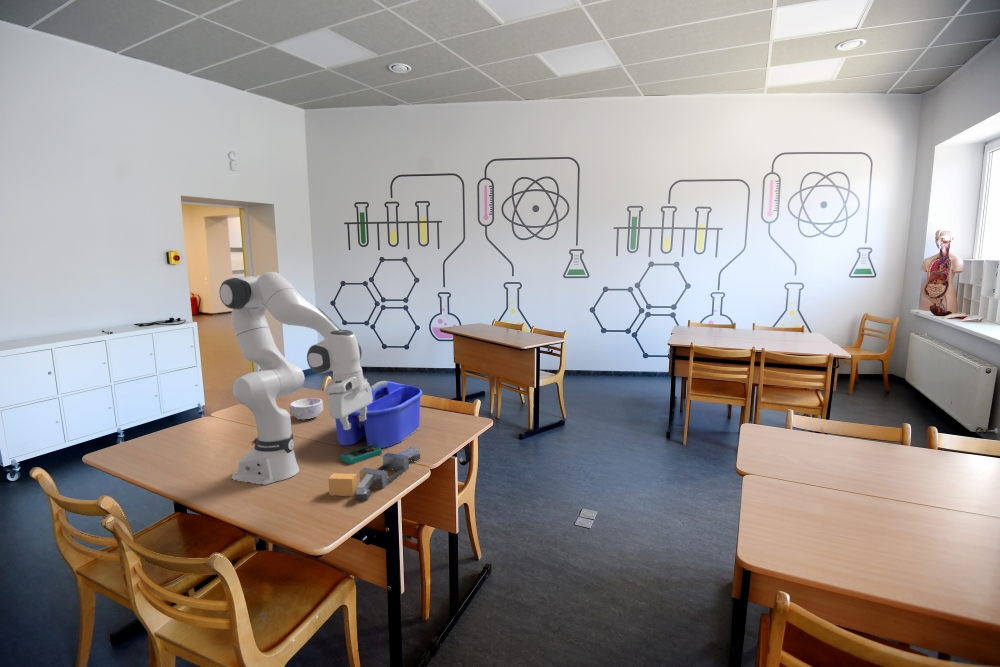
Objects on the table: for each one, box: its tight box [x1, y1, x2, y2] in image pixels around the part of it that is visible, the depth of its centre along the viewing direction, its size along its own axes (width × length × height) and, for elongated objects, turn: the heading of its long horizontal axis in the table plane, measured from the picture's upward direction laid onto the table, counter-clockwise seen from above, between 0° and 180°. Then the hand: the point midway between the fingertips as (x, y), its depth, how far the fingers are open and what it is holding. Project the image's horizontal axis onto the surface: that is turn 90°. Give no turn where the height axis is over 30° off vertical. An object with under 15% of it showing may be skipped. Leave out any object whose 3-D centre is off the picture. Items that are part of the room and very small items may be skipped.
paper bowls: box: [289, 397, 324, 420], centre depth 246 cm, size 15×15×8 cm
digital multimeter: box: [340, 445, 383, 465], centre depth 197 cm, size 7×15×3 cm, turn 136°
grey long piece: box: [354, 445, 421, 501], centre depth 179 cm, size 37×9×5 cm, turn 160°
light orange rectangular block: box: [327, 472, 358, 497], centre depth 167 cm, size 8×4×6 cm, turn 85°
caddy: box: [335, 380, 423, 450], centre depth 221 cm, size 32×45×23 cm
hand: (355, 424), depth 158 cm, fingers open, 8 cm apart
